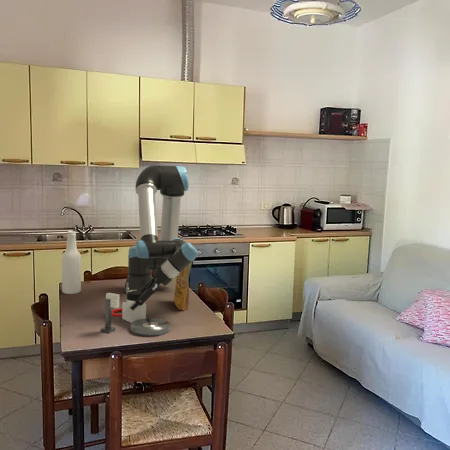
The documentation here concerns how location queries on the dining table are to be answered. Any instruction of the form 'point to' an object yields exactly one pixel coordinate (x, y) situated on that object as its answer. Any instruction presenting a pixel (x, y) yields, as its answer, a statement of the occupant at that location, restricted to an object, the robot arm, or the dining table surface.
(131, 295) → the medicine bottle
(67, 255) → the alcohol
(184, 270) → the pancake mix bag
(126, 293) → the tow hook
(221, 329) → the dining table surface
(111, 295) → the gray upright stand
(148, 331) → the disc
